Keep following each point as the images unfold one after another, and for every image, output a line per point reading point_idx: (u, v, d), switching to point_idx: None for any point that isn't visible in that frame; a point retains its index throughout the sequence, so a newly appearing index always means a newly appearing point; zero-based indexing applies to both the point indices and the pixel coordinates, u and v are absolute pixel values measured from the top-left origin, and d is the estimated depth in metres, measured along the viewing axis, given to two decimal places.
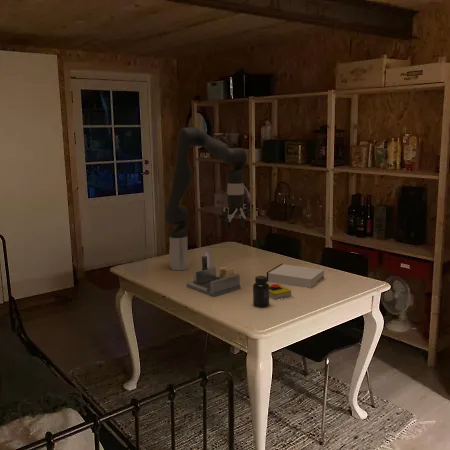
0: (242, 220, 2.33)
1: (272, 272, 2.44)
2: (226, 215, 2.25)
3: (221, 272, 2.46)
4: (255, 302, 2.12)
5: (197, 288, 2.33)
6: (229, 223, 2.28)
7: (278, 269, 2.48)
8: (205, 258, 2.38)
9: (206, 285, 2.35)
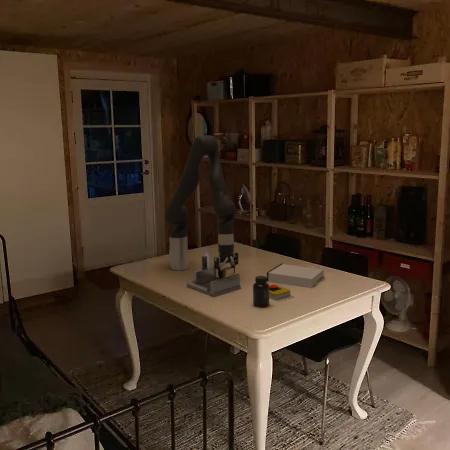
0: None
1: (272, 272, 2.44)
2: (218, 264, 2.40)
3: None
4: (255, 302, 2.12)
5: (197, 288, 2.33)
6: (221, 271, 2.43)
7: (278, 269, 2.49)
8: (205, 258, 2.38)
9: (206, 285, 2.35)
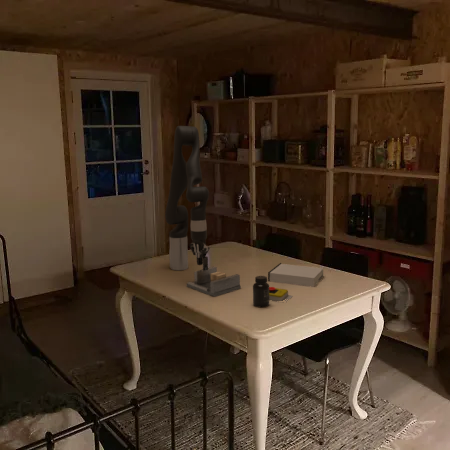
0: None
1: (273, 272, 2.45)
2: (192, 250, 2.43)
3: (212, 278, 2.32)
4: (255, 302, 2.12)
5: (197, 288, 2.33)
6: (197, 258, 2.41)
7: (278, 269, 2.49)
8: (206, 258, 2.37)
9: (206, 285, 2.35)
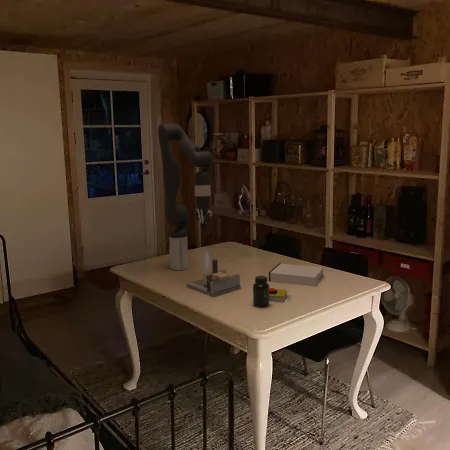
0: None
1: (274, 272, 2.45)
2: (196, 216, 2.43)
3: (214, 278, 2.31)
4: (255, 302, 2.12)
5: (197, 288, 2.33)
6: (201, 224, 2.42)
7: (279, 269, 2.49)
8: (215, 261, 2.32)
9: None
